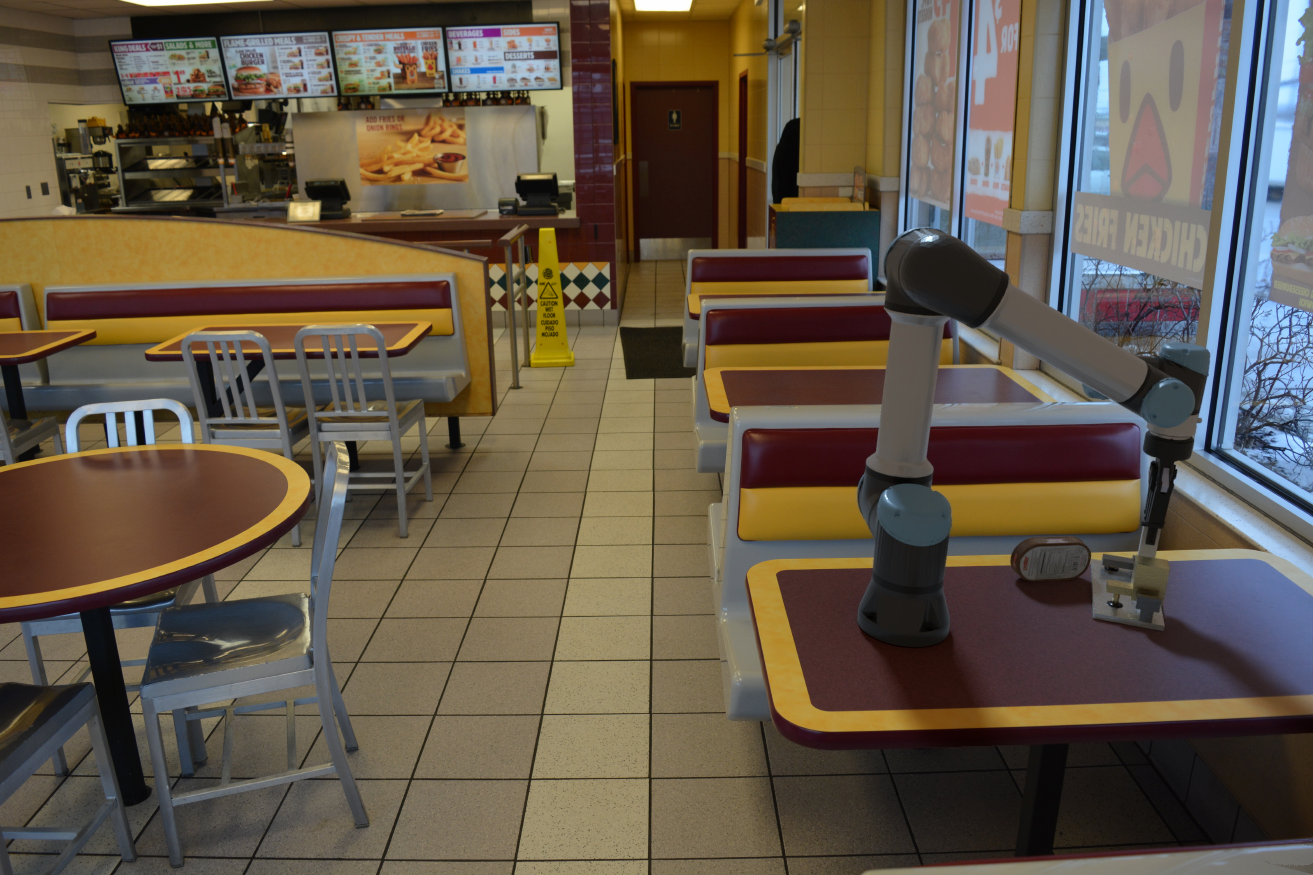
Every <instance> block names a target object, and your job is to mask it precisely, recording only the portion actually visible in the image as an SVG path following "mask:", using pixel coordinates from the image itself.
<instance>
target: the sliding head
mask: <svg viewBox="0 0 1313 875" xmlns="http://www.w3.org/2000/svg"><path fill="white" fill-rule="evenodd" d="M1135 555H1136V557H1135V562H1134V567H1133V573H1132V578H1131V583H1126V582H1120V581H1114V580H1108V579H1107V584H1106V592H1108V593H1114V596H1113V601H1112V604H1113V605H1118V604H1119V599H1120V595H1125V596H1130V600H1134V601H1136V599H1137V594H1144V595H1149V596H1155V597H1161V599H1162V601H1161V607H1162V606H1164V601H1165V595H1166V592H1167V585H1168V581H1169V576H1170V570H1171V568H1170V563H1169V560H1168V559H1165V558H1164V559H1163V558H1158V557H1155V558H1152V557H1146V556H1139V555H1138V554H1135Z"/></svg>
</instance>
